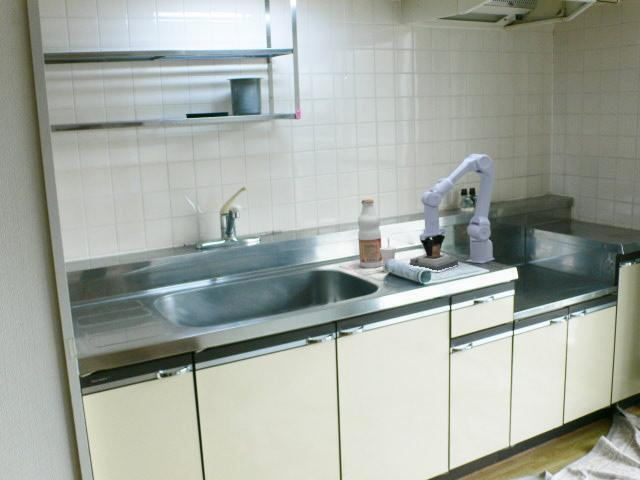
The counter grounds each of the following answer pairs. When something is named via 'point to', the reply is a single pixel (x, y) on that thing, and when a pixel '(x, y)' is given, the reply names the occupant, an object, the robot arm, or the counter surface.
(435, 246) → the brown short cylinder
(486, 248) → the robot arm
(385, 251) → the smoothie
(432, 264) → the grey square box
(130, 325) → the counter surface
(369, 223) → the fruit juice
